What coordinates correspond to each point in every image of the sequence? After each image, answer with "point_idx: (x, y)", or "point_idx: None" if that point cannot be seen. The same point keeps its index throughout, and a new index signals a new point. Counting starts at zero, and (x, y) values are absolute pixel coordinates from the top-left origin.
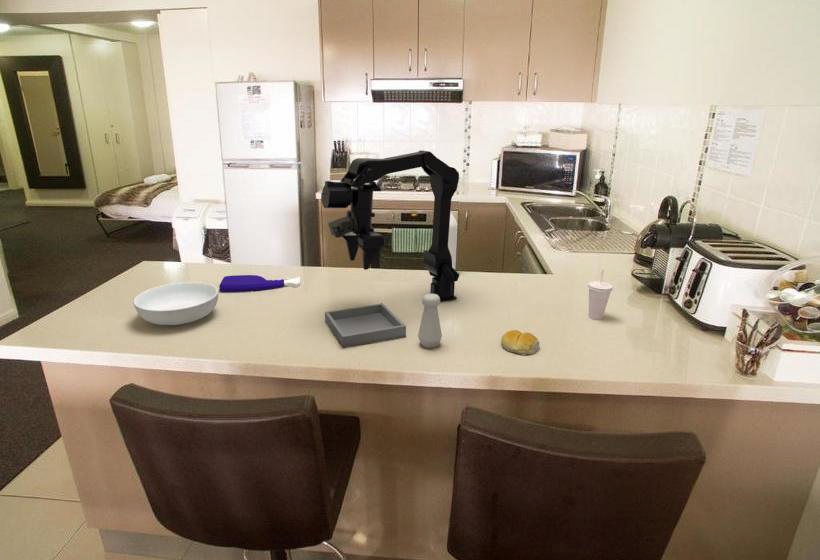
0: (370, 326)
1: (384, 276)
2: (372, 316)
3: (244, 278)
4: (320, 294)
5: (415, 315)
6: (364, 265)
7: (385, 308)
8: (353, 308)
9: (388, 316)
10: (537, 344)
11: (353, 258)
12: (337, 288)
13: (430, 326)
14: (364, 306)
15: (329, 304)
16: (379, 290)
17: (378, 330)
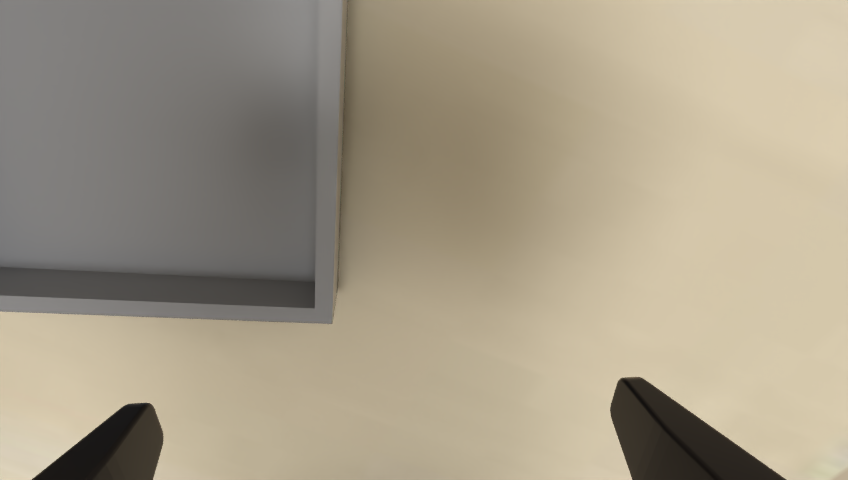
0: (138, 154)
1: (758, 458)
2: (284, 222)
3: None
4: (797, 80)
5: (245, 405)
6: (62, 457)
7: (244, 308)
8: (320, 133)
9: (192, 288)
10: None
11: (622, 427)
12: (800, 211)
13: None
14: (325, 212)
15: (615, 69)
16: None
17: None
